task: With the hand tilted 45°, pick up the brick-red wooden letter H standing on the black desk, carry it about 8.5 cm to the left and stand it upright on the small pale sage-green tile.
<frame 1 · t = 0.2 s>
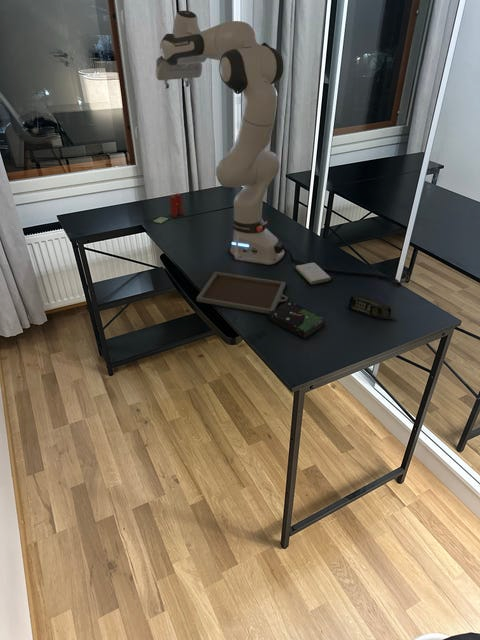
hand: (176, 86, 185), 54 cm above the table, tool tilted 30°, fingers open, 8 cm apart
disk drive: (295, 322, 139), on the table
hard drive: (312, 275, 163), on the table
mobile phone: (370, 314, 143), on the table
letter: (177, 215, 210), on the table
brown grey flat panel: (245, 294, 152), on the table
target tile: (160, 220, 205), on the table
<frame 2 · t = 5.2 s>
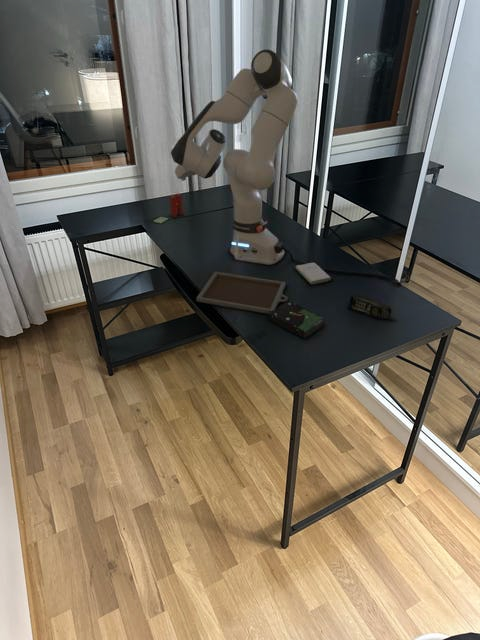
hand: (191, 176, 190), 21 cm above the table, tool tilted 45°, fingers open, 8 cm apart
nothing on the table moved.
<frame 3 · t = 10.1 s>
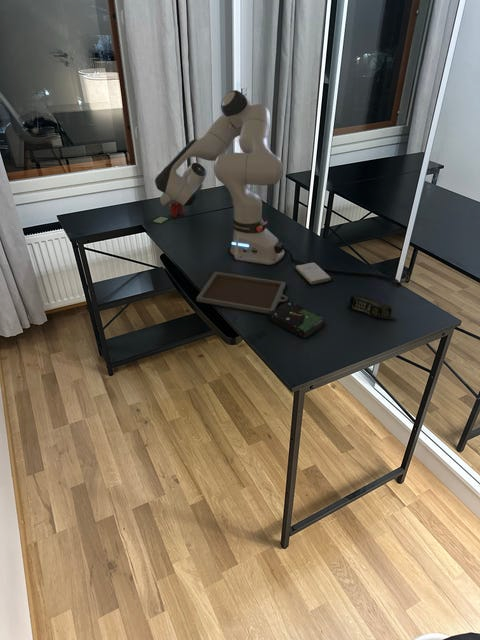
hand: (175, 203, 207), 6 cm above the table, tool tilted 45°, fingers closed on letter, 5 cm apart
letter: (177, 215, 210), on the table, touching gripper
everything else where it was.
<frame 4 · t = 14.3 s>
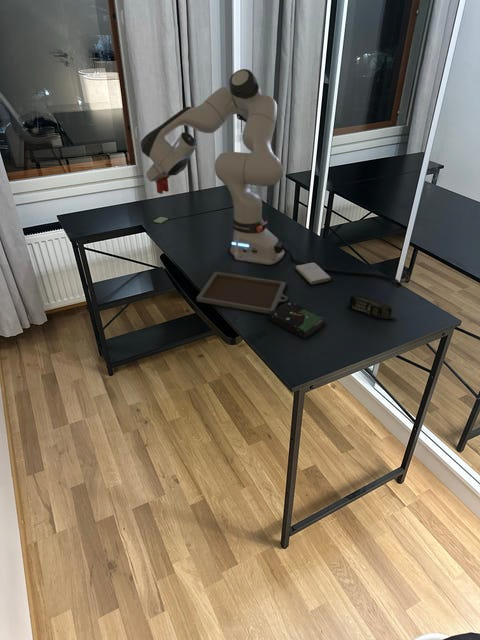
hand: (160, 178, 196), 19 cm above the table, tool tilted 45°, fingers closed on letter, 5 cm apart
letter: (163, 191, 199), point 13 cm above the table, touching gripper
everything else where it was.
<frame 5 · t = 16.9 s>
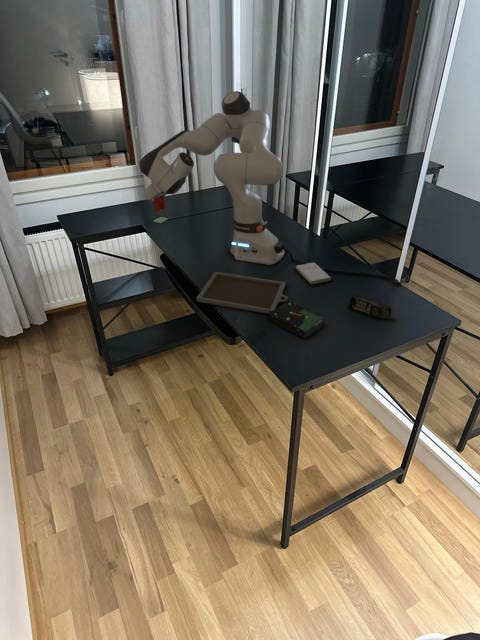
hand: (157, 197, 199), 11 cm above the table, tool tilted 45°, fingers closed on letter, 5 cm apart
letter: (159, 209, 202), point 5 cm above the table, touching gripper
everything else where it was.
when the fingers open (6 cm above the table, at t = 18.7 s): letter stays where it is, resting on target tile.
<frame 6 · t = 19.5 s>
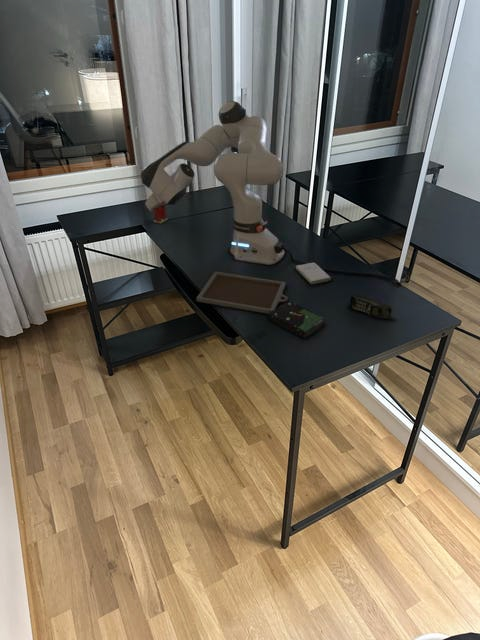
hand: (158, 206, 201), 7 cm above the table, tool tilted 45°, fingers open, 8 cm apart
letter: (160, 219, 205), resting on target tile
everything else where it was.
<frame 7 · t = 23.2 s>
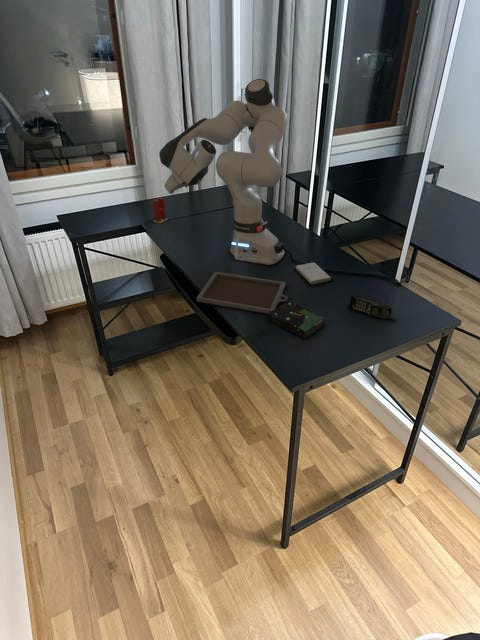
hand: (177, 189, 190), 17 cm above the table, tool tilted 45°, fingers open, 8 cm apart
nothing on the table moved.
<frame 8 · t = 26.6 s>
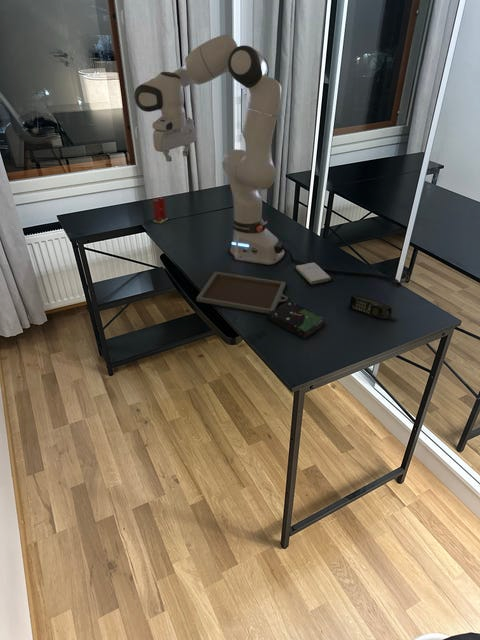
hand: (177, 158, 172), 33 cm above the table, tool pointing down, fingers open, 8 cm apart
nothing on the table moved.
at the end: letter 0.1 cm off-centre on the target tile, point 0.2 cm above the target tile's base; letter tilted 0°; the gripper is holding nothing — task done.
